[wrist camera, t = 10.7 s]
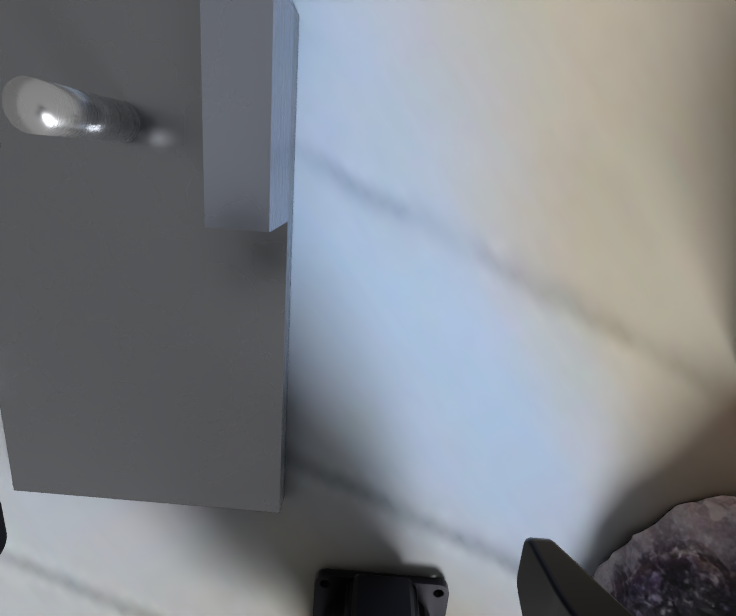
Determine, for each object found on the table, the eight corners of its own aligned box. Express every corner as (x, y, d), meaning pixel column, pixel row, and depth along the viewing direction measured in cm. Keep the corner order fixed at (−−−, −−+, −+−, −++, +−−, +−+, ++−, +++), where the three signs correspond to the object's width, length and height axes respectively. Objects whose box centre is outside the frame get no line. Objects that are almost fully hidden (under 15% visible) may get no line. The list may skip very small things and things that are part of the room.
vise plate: (283, 498, 22) (252, 601, 17) (30, 476, 22) (-80, 572, 17) (299, 15, 16) (260, -58, 11) (-44, -13, 16) (-246, -98, 11)
